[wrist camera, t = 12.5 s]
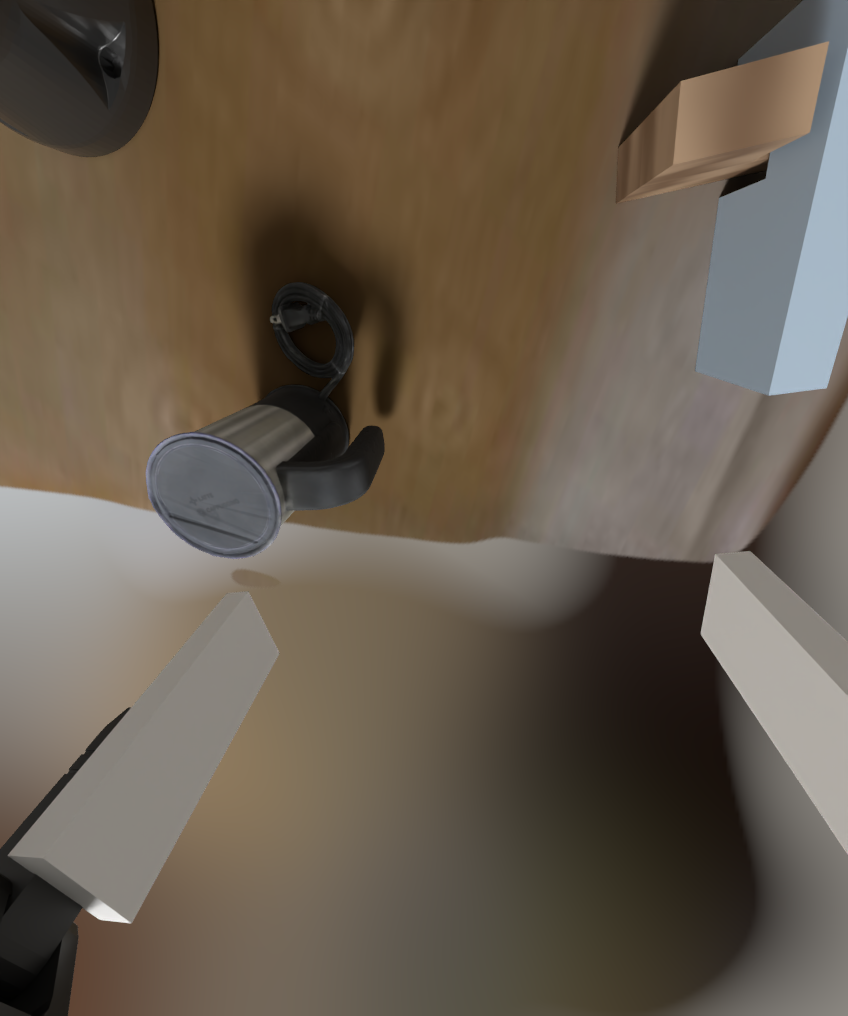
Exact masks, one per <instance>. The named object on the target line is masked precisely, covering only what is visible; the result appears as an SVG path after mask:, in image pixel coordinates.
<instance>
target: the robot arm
mask: <svg viewBox="0 0 848 1016" xmlns="http://www.w3.org/2000/svg"><path fill="white" fill-rule="evenodd" d="M157 64H158V44H157V30H156V22H155V15H154V9H153V4H152V0H0V122H1V123H2V124H4V125H5V126H7V127H8V128H10V129H11V130H13V131H15V132H17V133H18V134H20V135H22V136H24V137H26V138H28V139H30V140H32V141H34V142H37V143H39V144H42V145H45V146H48V147H51V148H53V149H56V150H59V151H62V152H64V153H68V154H71V155H76V156H82V157H97V156H103V155H107V154H109V153H112V152H114V151H116V150H118V149H120V148H121V147H123V146H124V145H125V144H126V143H128V142H129V141H130V140H131V139H132V138H133V137H134V135H135V134H136V133H137V131H138V130H139V129H140V127H141V125H142V124H143V122H144V120H145V118H146V116H147V113H148V111H149V108H150V105H151V102H152V98H153V94H154V90H155V84H156V77H157ZM701 635H702V637H703V638H704V640H705V641H706V643H707V644H708V646H709V647H710V649H711V650H712V652H713V653H714V655H715V656H716V658H717V659H718V661H719V662H720V664H721V665H722V667H723V668H724V670H725V671H726V672H727V674H728V676H729V677H730V679H731V680H732V681H733V683H734V685H735V686H736V687H737V689H738V690H739V692H740V693H741V695H742V697H743V698H744V700H745V701H746V703H747V704H748V706H749V707H750V709H751V710H752V712H753V713H754V715H755V716H756V718H757V719H758V721H759V722H760V724H761V725H762V727H763V728H764V730H765V731H766V733H767V734H768V736H769V737H770V739H771V740H772V742H773V743H774V745H775V746H776V748H777V749H778V751H779V752H780V754H781V755H782V757H783V758H784V760H785V761H786V763H787V764H788V766H789V767H790V769H791V770H792V772H793V773H794V775H795V776H796V778H797V779H798V781H799V782H800V784H801V785H802V786H803V788H804V790H805V791H806V793H807V794H808V796H809V797H810V798H811V800H812V801H813V803H814V805H815V806H816V807H817V809H818V810H819V812H820V813H821V815H822V817H823V818H824V819H825V821H826V823H827V824H828V826H829V827H830V829H831V830H832V832H833V833H834V834H835V836H836V837H837V839H838V841H839V842H840V844H841V845H842V847H843V848H844V850H845V851H846V853H847V854H848V641H846V640H845V639H844V638H843V637H842V636H841V635H840V634H839V633H838V632H837V631H836V630H835V629H834V628H832V627H831V626H830V625H829V624H828V623H827V622H826V621H825V620H824V619H823V618H822V617H820V615H818V614H817V613H816V612H815V611H814V610H813V609H812V608H811V607H810V606H809V605H808V604H807V603H805V602H804V601H803V600H802V599H801V598H800V597H799V596H798V595H797V594H796V593H795V592H794V591H793V590H791V589H790V588H789V587H788V586H787V585H786V584H785V583H784V582H783V581H782V580H781V579H780V578H778V577H777V576H776V575H775V574H774V573H773V572H772V571H771V570H770V569H769V568H768V567H767V566H766V565H764V564H763V563H762V562H761V561H760V560H759V559H758V558H757V557H756V556H755V555H754V554H753V553H751V552H750V551H747V552H734V553H722V554H715V559H714V564H713V570H712V575H711V581H710V586H709V592H708V598H707V603H706V608H705V613H704V619H703V625H702V630H701ZM278 655H279V651H278V649H277V647H276V645H275V643H274V641H273V639H272V637H271V635H270V634H269V631H268V629H267V627H266V625H265V624H264V621H263V619H262V617H261V615H260V614H259V612H258V610H257V608H256V606H255V604H254V602H253V600H252V598H251V596H250V594H249V592H236V593H227V594H226V595H225V596H224V597H223V598H222V600H221V601H220V602H219V603H218V604H217V606H216V607H215V608H214V609H213V610H212V612H211V613H210V614H209V615H208V616H207V618H206V619H205V620H204V621H203V622H202V624H201V625H200V626H199V627H198V628H197V630H196V631H195V632H194V633H193V634H192V635H191V637H190V638H189V639H188V640H187V642H186V643H185V644H184V645H183V646H182V648H181V649H180V650H179V651H178V652H177V654H176V655H175V656H174V657H173V658H172V659H171V661H170V662H169V663H168V664H167V665H166V667H165V668H164V669H163V670H162V671H161V673H160V674H159V675H158V676H157V678H156V679H155V680H154V681H153V683H151V685H150V686H149V687H148V688H147V689H146V691H145V692H144V693H143V694H142V695H141V697H140V698H139V699H138V700H137V701H136V702H135V704H134V705H133V706H132V707H130V708H127V709H126V710H125V711H124V712H122V713H121V714H120V715H119V716H118V717H117V718H115V719H114V720H113V721H112V722H110V723H109V724H108V725H107V726H106V727H105V728H104V729H103V730H102V731H101V732H100V733H99V735H98V736H97V737H96V738H95V739H94V740H93V742H92V743H91V744H90V745H89V746H88V748H87V749H86V752H85V754H83V755H81V756H80V757H79V758H78V759H77V761H75V763H74V764H73V765H72V766H71V767H70V768H69V772H68V774H64V775H63V777H62V778H61V779H60V780H59V781H58V782H57V784H56V785H55V786H54V787H53V788H52V789H51V791H50V792H49V793H48V794H47V795H46V796H45V797H44V799H43V800H42V801H41V802H40V803H39V804H38V806H37V807H36V808H35V809H34V810H33V811H32V813H31V814H30V815H29V816H28V817H27V818H26V820H25V821H24V822H23V823H22V824H21V826H20V827H19V828H18V829H17V830H16V831H15V833H14V834H13V835H12V836H11V837H10V838H9V839H8V841H7V842H6V843H5V844H4V845H3V847H2V848H1V849H0V1016H68V1010H69V1003H70V995H71V988H72V980H73V973H74V965H75V959H76V951H77V944H78V926H77V925H76V924H75V923H74V922H73V921H74V920H75V918H76V917H77V915H78V914H79V912H80V910H81V909H82V908H84V909H85V910H86V911H88V912H89V913H91V914H92V915H94V916H95V917H96V918H98V919H99V920H107V921H115V922H124V923H132V921H133V920H134V918H135V916H136V914H137V912H138V910H139V909H140V907H141V905H142V903H143V901H144V899H145V898H146V896H147V894H148V892H149V890H150V889H151V887H152V885H153V883H154V881H155V880H156V878H157V876H158V874H159V872H160V870H161V869H162V867H163V865H164V863H165V861H166V859H167V858H168V856H169V854H170V852H171V850H172V849H173V847H174V845H175V843H176V841H177V839H178V837H179V836H180V834H181V832H182V830H183V828H184V827H185V825H186V823H187V821H188V819H189V817H190V816H191V814H192V812H193V810H194V808H195V807H196V805H197V803H198V801H199V799H200V797H201V796H202V794H203V792H204V790H205V788H206V787H207V785H208V783H209V781H210V779H211V777H212V776H213V774H214V772H215V770H216V768H217V766H218V764H219V763H220V761H221V759H222V757H223V755H224V754H225V752H226V750H227V748H228V746H229V745H230V743H231V741H232V739H233V737H234V735H235V734H236V732H237V730H238V728H239V726H240V724H241V722H242V721H243V719H244V717H245V715H246V714H247V712H248V710H249V708H250V706H251V704H252V703H253V701H254V699H255V697H256V695H257V693H258V692H259V690H260V688H261V686H262V684H263V683H264V681H265V679H266V677H267V675H268V673H269V671H270V670H271V668H272V666H273V664H274V662H275V661H276V659H277V657H278Z"/></svg>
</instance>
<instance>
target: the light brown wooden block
mask: <svg viewBox="0 0 848 1016" xmlns="http://www.w3.org/2000/svg"><path fill="white" fill-rule="evenodd" d="M828 45H829V41H828V42H824V43H820V44H817V45H813V46H809V47H805V48H802V49H798V50H794V51H791V52H787V53H783V54H780V55H776V56H772V57H768V58H765V59H761V60H757V61H754V62H750V63H746V64H742V65H739V66H735V67H731V68H728V69H724V70H720V71H717V72H713V73H709V74H705V75H702V76H698V77H694V78H691V79H687V80H683V81H681V82H680V83H679V84H678V85H677V86H676V87H675V88H674V89H673V90H672V91H671V92H670V93H669V94H668V95H667V96H666V98H665V99H664V100H663V101H662V102H661V103H660V104H659V105H658V106H657V107H656V108H655V109H654V110H653V111H652V112H651V113H650V115H649V116H648V117H647V118H646V119H645V120H644V121H643V122H642V123H641V124H640V125H639V126H638V127H637V128H636V129H635V131H634V132H633V133H632V134H631V135H630V136H629V137H628V138H627V139H626V140H625V141H624V142H623V143H622V144H621V145H620V146H619V148H618V163H617V186H616V204H617V203H621V202H626V201H630V200H635V199H639V198H644V197H648V196H653V195H657V194H662V193H666V192H671V191H675V190H680V189H684V188H689V187H693V186H698V185H702V184H707V183H711V182H716V181H720V180H724V179H729V178H733V177H738V176H742V175H747V174H751V173H756V172H760V171H765V170H767V168H768V162H769V157H770V152H772V151H774V150H776V149H778V148H780V147H782V146H784V145H786V144H788V143H790V142H792V141H794V140H796V139H798V138H800V137H802V136H804V135H806V134H808V133H810V130H811V125H812V120H813V116H814V111H815V106H816V102H817V97H818V92H819V87H820V83H821V78H822V73H823V68H824V64H825V59H826V54H827V50H828Z"/></svg>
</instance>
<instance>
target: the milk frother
mask: <svg viewBox="0 0 848 1016" xmlns="http://www.w3.org/2000/svg"><path fill="white" fill-rule="evenodd" d="M294 301H304V302H307V303H308V304H307V305H305V306H301V305H300V304H299V303H298V302H294ZM292 302H294V303H292ZM325 320H326V321H327V322H328V323H329V325H330V326H331V328H332V330H333V332H334V334H335V338H336V350H335V354H334V357H333V358H332V360H331V361H330V362H329V363H326V364H322V363H317V362H315V361H312V360H311V359H309V358H307V357H306V356H305V355H304V354H302V353H301V352H300V351H299V350H298V348H297V347H296V346H295V345H294V343H293V342H292V340H291V338H290V336H289V334H288V332H292V331H294V330H297V329H301V328H303V327H304V326H305V325H306V323H307V324H310V325H311V324H315V323H318V322H319V321H325ZM270 322H271V323H273V329H274V331H275V336H276V338H277V341H278V343H279V345H280V347H281V349H282V351H283V352H284V354H285V355H286V357H287V358H289V359H290V360H291V361H292V362H293V363H294V364H295V365H296V366H297V367H298V368H299V369H300V370H302V371H303V372H305V373H307V374H309V375H311V376H314V377H319V378H332V379H331V381H330V382H329V383H328V384H327V385H326V386H325V387H324V388H323V389H322V391H321V392H319V391H317V390H315V389H313V388H310V387H307V386H302V385H286V386H282V387H279V388H277V389H275V390H273V391H271V392H270V393H269V394H268V395H267V396H266V397H265V398H264V399H262V400H261V401H259V402H257V403H255V404H253V405H251V406H249V407H247V408H245V409H242V410H240V411H238V412H236V413H234V414H231V415H229V416H227V417H225V418H223V419H221V420H219V421H216V422H214V423H212V424H210V425H208V426H206V427H203V428H201V429H199V430H197V431H195V432H190V433H182V434H177V435H174V436H171V437H169V438H167V439H165V440H164V441H162V442H161V443H160V444H158V445H157V447H156V448H155V449H154V451H153V452H152V454H151V456H150V457H149V460H148V463H147V468H146V484H147V489H148V495H149V499H150V501H151V503H152V505H153V508H154V509H155V510H156V512H157V513H158V515H159V516H160V517H161V518H162V520H163V521H164V522H165V523H166V525H167V526H168V527H169V528H170V529H171V530H172V531H173V532H174V533H175V534H176V535H177V536H178V537H180V538H181V539H182V540H184V541H185V542H187V543H188V544H190V545H191V546H193V547H195V548H197V549H199V550H201V551H203V552H206V553H209V554H211V555H213V556H219V557H225V558H232V559H238V558H247V557H250V556H255V555H256V554H258V553H261V552H262V551H264V550H265V549H266V548H267V547H269V546H270V545H271V544H272V542H273V541H274V540H275V539H276V537H277V534H278V532H279V529H280V526H281V525H282V524H283V523H284V522H285V520H286V519H287V518H288V517H289V516H290V515H291V514H292V513H293V512H294V511H295V510H320V509H328V508H333V507H337V506H341V505H344V504H347V503H350V502H352V501H354V500H356V499H358V498H359V497H361V496H362V495H363V494H365V493H366V491H367V490H368V489H369V487H370V485H371V483H372V481H373V479H374V476H375V474H376V472H377V470H378V467H379V465H380V462H381V460H382V457H383V455H384V438H383V433H382V430H381V428H379V427H378V426H367V427H365V428H363V430H362V431H361V432H360V433H359V435H358V436H357V437H356V438H355V440H354V441H353V442H352V443H351V445H350V446H349V447H348V445H349V434H348V428H347V425H346V422H345V419H344V417H343V415H342V413H341V412H340V410H339V408H338V407H337V406H336V405H335V404H334V403H333V401H331V400H330V399H329V398H328V395H329V394H330V393H331V391H332V390H333V389H334V388H335V387H336V386H337V384H338V383H339V381H340V380H341V379H342V377H343V376H344V374H345V372H346V371H347V369H348V367H349V365H350V363H351V361H352V359H353V353H354V339H353V333H352V330H351V327H350V324H349V322H348V320H347V318H346V316H345V314H344V313H343V311H342V310H341V309H340V308H339V306H338V305H337V304H336V303H335V302H334V301H333V300H332V299H331V298H330V297H329V296H328V295H327V294H325V293H324V292H323V291H321V290H320V289H318V288H317V287H315V286H312V285H310V284H307V283H302V282H296V283H289V284H287V285H285V286H284V287H282V288H281V289H280V290H279V291H278V292H277V294H276V296H275V298H274V301H273V304H272V316H271V317H270Z"/></svg>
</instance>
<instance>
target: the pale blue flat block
mask: <svg viewBox="0 0 848 1016" xmlns="http://www.w3.org/2000/svg"><path fill="white" fill-rule="evenodd" d="M828 41H829V45H828V50H827V54H826V59H825V64H824V68H823V73H822V78H821V83H820V87H819V92H818V97H817V102H816V106H815V111H814V116H813V120H812V125H811V130H810V133H808V134H806V135H804V136H802V137H800V138H798V139H796V140H794V141H792V142H790V143H788V144H786V145H784V146H782V147H780V148H778V149H776V150H774V151H772V152H770V157H769V162H768V168H767V173H766V179H764V180H761V181H759V182H756V183H754V184H752V185H749V186H747V187H744V188H742V189H740V190H737V191H735V192H732V193H730V194H728V195H725V196H723V197H720V198H719V203H718V210H717V218H716V225H715V232H714V239H713V246H712V253H711V261H710V268H709V275H708V282H707V289H706V297H705V304H704V311H703V318H702V325H701V333H700V340H699V347H698V354H697V361H696V368H695V371H696V372H699V373H702V374H705V375H708V376H711V377H714V378H717V379H720V380H723V381H726V382H729V383H732V384H735V385H738V386H741V387H744V388H747V389H750V390H753V391H756V392H759V393H762V394H765V395H768V396H769V395H777V394H784V393H792V392H800V391H807V390H815V389H823V388H827V385H828V382H829V378H830V375H831V372H832V368H833V365H834V361H835V358H836V354H837V351H838V348H839V344H840V341H841V337H842V334H843V330H844V327H845V324H846V320H847V317H848V0H803V1H802V2H801V3H800V4H799V5H797V6H796V7H795V8H794V9H793V10H792V11H791V12H790V13H789V14H788V15H786V16H785V17H784V18H783V19H782V20H781V21H780V22H779V23H778V24H777V25H776V26H774V27H773V28H772V29H771V30H770V31H769V32H768V33H767V34H766V35H765V36H763V37H762V38H761V39H760V40H759V41H758V42H757V43H756V44H755V45H754V46H753V47H751V48H750V49H749V50H748V51H747V52H746V53H745V54H744V55H743V56H742V57H740V58H739V59H738V66H739V65H742V64H746V63H750V62H754V61H757V60H761V59H765V58H768V57H772V56H776V55H780V54H783V53H787V52H791V51H794V50H798V49H802V48H805V47H809V46H813V45H817V44H820V43H824V42H828Z"/></svg>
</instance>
